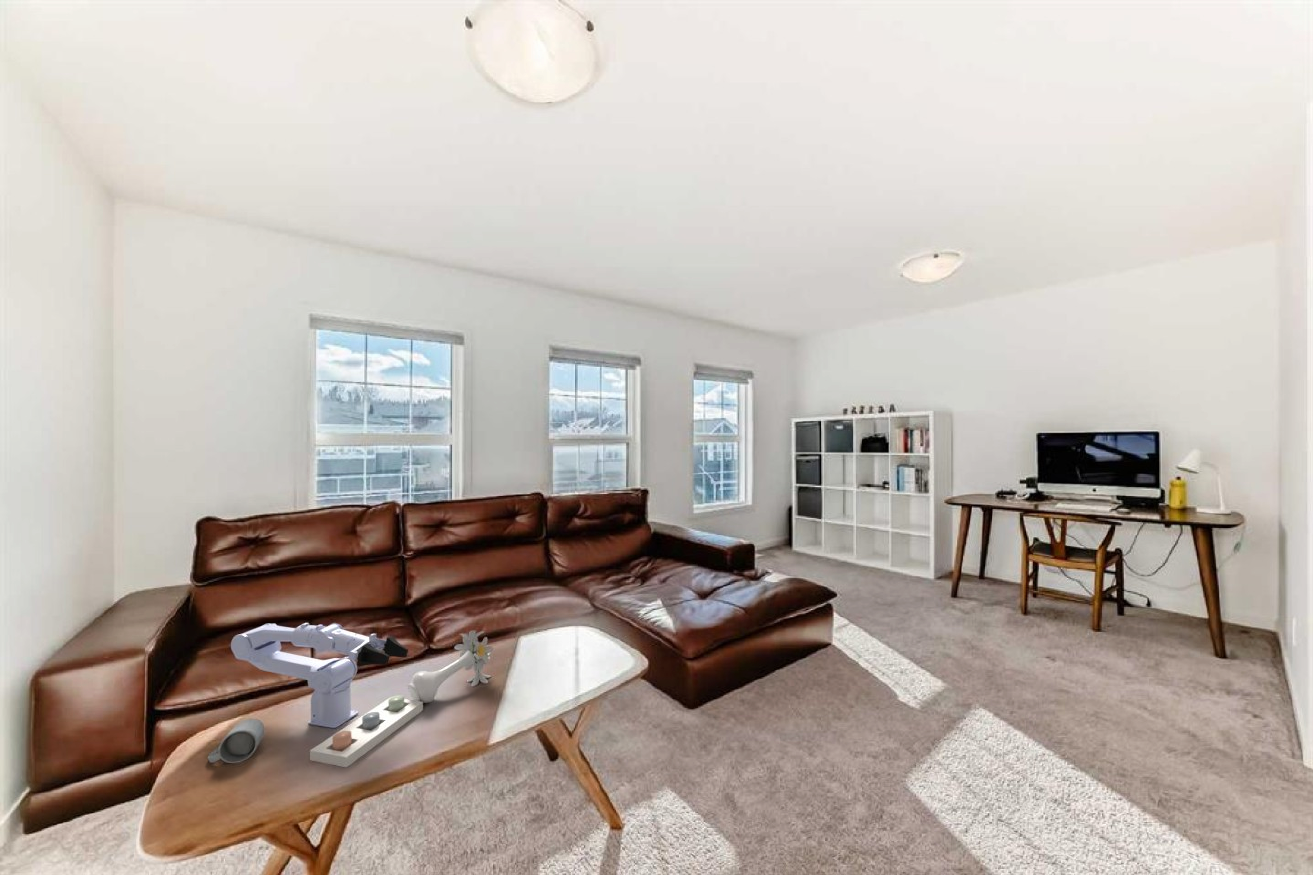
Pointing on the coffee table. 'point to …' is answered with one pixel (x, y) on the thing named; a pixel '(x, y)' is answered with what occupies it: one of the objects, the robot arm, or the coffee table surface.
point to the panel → (366, 734)
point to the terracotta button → (342, 740)
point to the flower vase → (453, 668)
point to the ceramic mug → (239, 742)
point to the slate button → (370, 721)
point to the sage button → (396, 703)
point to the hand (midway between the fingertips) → (397, 656)
